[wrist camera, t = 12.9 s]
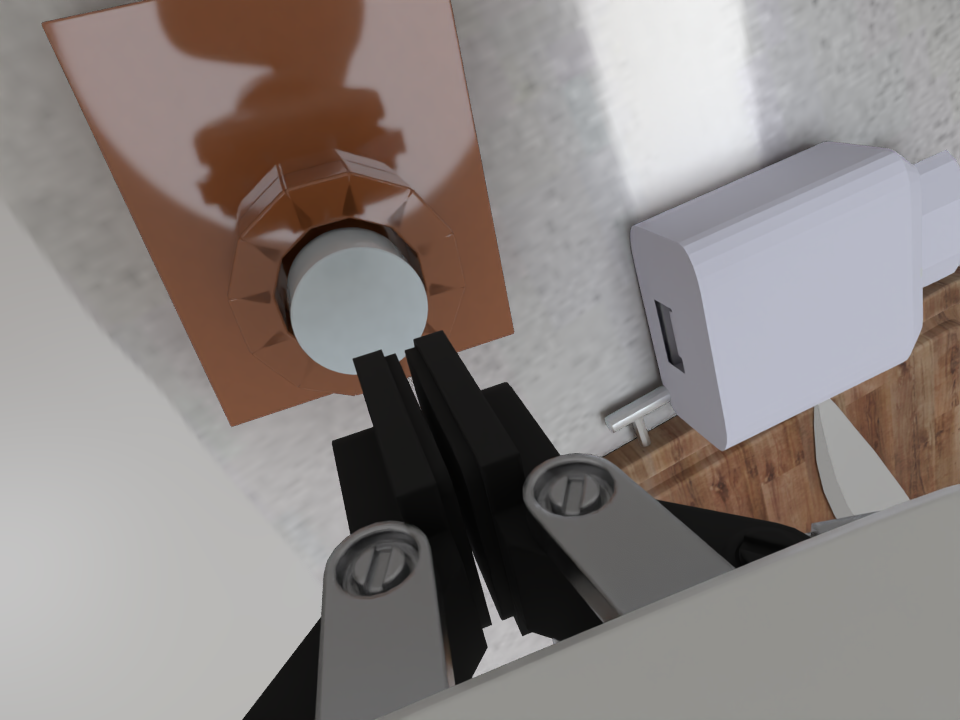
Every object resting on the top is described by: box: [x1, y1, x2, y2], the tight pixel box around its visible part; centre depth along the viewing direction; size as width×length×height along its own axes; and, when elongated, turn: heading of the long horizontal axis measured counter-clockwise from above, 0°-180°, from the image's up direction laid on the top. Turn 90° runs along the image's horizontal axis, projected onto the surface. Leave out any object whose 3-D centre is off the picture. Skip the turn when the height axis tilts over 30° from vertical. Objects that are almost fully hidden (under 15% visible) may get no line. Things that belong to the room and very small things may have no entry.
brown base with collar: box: [42, 0, 514, 427], centre depth 20 cm, size 12×10×5 cm
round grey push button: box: [286, 227, 428, 375], centre depth 18 cm, size 4×4×2 cm
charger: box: [630, 141, 960, 451], centre depth 27 cm, size 5×9×15 cm
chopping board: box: [603, 266, 960, 533], centre depth 41 cm, size 45×27×3 cm, turn 23°
